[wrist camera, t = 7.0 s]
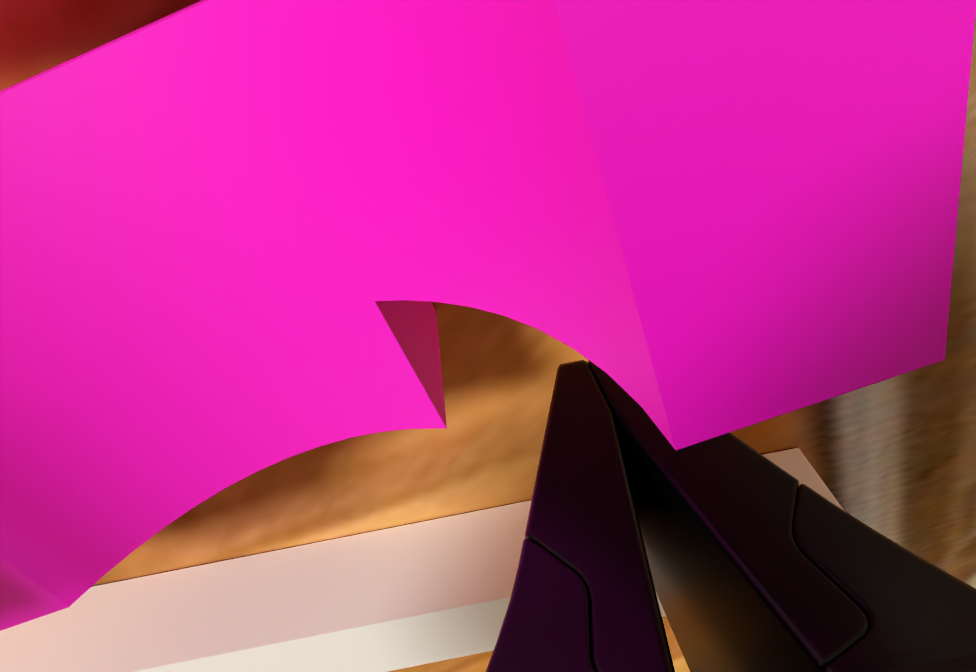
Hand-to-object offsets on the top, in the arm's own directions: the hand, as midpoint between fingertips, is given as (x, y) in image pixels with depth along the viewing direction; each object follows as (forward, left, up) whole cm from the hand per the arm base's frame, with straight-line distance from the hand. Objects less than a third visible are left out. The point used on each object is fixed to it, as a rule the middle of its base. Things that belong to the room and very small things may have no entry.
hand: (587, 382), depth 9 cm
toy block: (+2, +6, -4) cm, 7 cm away
